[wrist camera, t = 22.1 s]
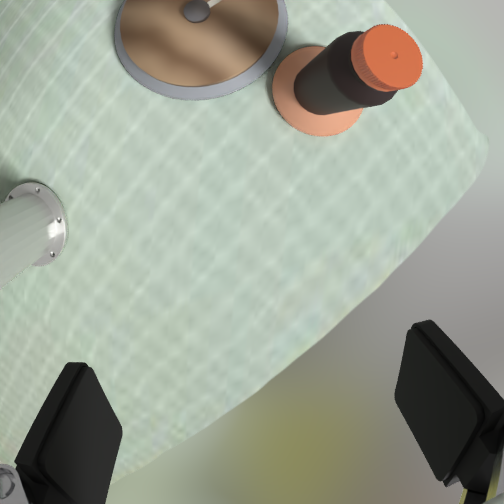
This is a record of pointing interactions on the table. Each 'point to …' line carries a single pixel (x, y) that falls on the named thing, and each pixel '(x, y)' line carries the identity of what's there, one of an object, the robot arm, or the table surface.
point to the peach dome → (291, 106)
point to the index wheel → (197, 38)
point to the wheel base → (212, 90)
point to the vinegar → (359, 71)
